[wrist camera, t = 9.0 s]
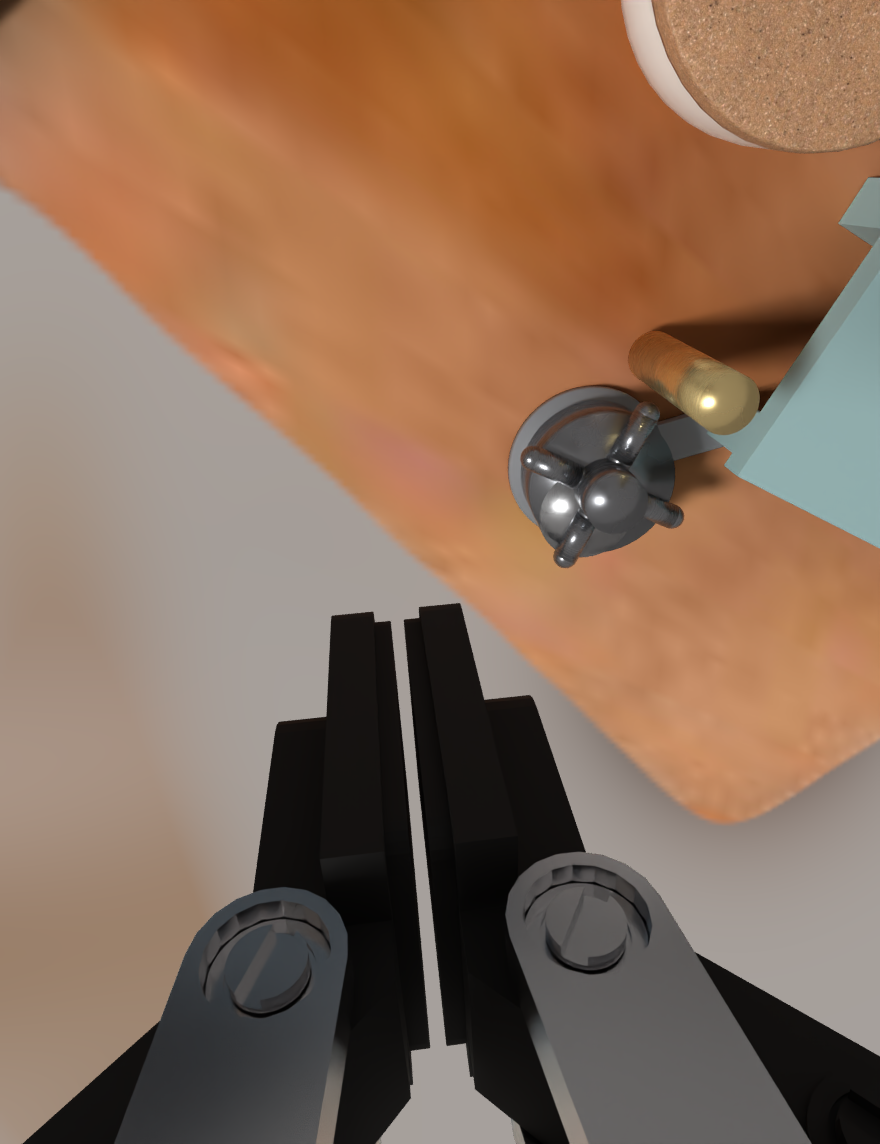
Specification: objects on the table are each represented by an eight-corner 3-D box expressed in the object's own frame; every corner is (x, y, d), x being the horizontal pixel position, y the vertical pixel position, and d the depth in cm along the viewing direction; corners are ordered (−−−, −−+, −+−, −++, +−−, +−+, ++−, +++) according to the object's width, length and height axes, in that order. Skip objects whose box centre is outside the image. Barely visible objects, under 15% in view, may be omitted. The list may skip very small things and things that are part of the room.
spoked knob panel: (480, 499, 34) (499, 548, 30) (724, 57, 27) (796, 36, 23) (840, 657, 40) (900, 718, 36) (1114, 330, 33) (1229, 355, 29)
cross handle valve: (584, 292, 30) (646, 326, 23) (741, 371, 32) (838, 422, 25) (472, 514, 34) (500, 595, 27) (619, 571, 36) (677, 658, 29)
